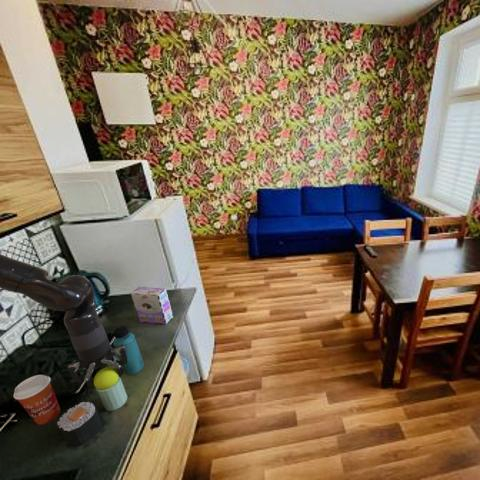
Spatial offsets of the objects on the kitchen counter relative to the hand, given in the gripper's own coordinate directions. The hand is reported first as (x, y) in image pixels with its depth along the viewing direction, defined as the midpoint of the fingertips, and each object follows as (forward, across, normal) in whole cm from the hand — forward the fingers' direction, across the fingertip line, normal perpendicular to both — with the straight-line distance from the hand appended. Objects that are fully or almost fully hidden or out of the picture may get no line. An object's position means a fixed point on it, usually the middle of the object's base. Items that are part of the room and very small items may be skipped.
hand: (107, 380), depth 84 cm
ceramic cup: (+10, 0, 0) cm, 10 cm away
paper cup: (+10, +17, -7) cm, 21 cm away
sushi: (+10, +8, +6) cm, 14 cm away
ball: (-1, 0, 0) cm, 1 cm away
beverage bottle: (+10, -6, -11) cm, 16 cm away
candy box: (+10, -16, -39) cm, 43 cm away
